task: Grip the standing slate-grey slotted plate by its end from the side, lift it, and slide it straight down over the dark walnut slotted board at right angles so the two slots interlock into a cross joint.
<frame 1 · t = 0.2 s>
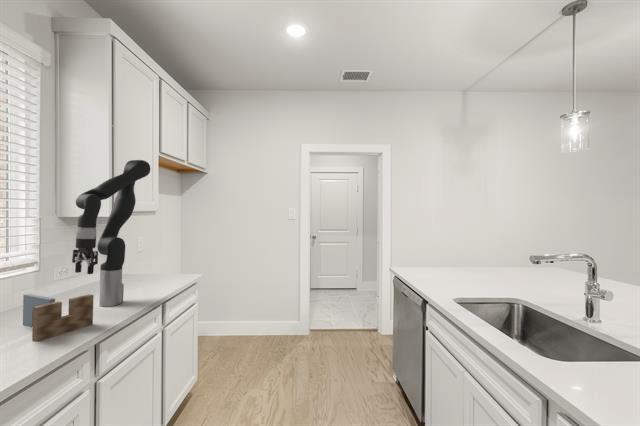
hand: (84, 273, 152), 17 cm above the table, tool pointing down, fingers open, 8 cm apart
walnut board: (64, 331, 127), on the table
slate plate: (38, 327, 131), on the table
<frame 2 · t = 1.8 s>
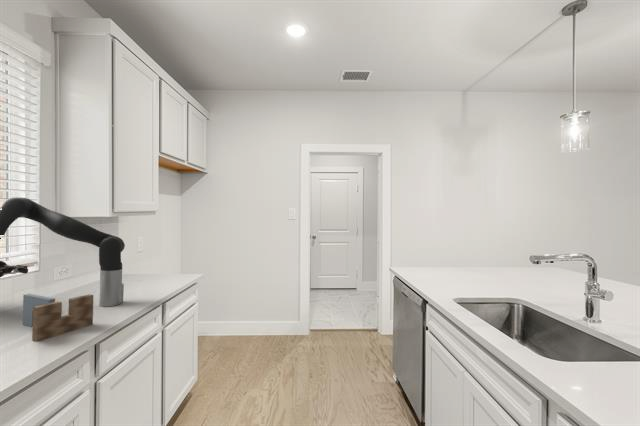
hand: (14, 272, 137), 20 cm above the table, tool horizontal, fingers open, 8 cm apart
nothing on the table moved.
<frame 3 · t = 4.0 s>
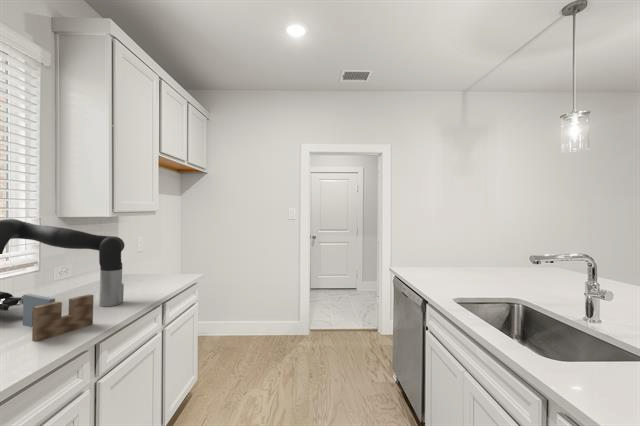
hand: (20, 305, 136), 7 cm above the table, tool horizontal, fingers open, 8 cm apart
nothing on the table moved.
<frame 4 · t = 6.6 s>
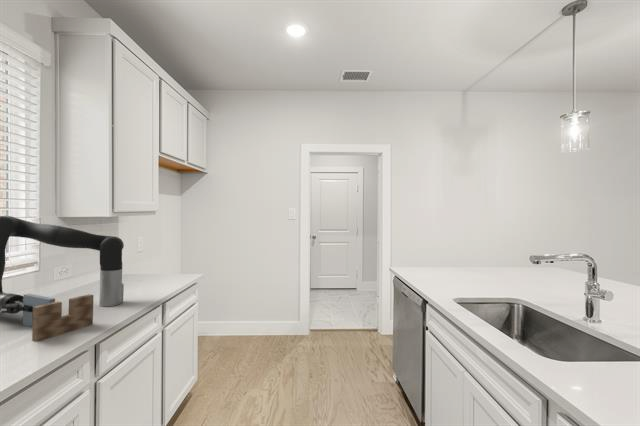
hand: (35, 308, 132), 7 cm above the table, tool horizontal, fingers closed on slate plate, 2 cm apart
slate plate: (38, 327, 131), on the table, touching gripper
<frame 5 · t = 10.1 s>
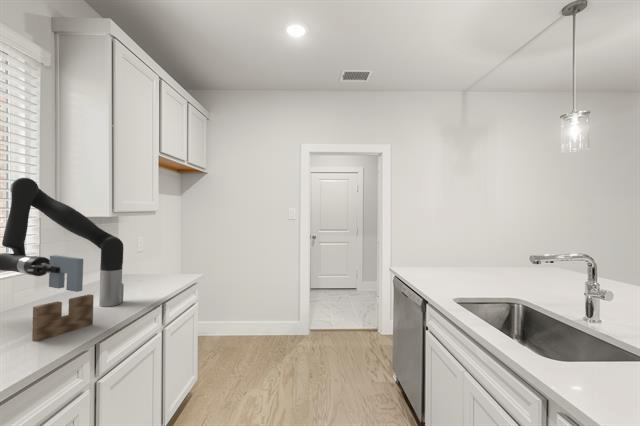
hand: (62, 269, 128), 23 cm above the table, tool horizontal, fingers closed on slate plate
slate plate: (65, 288, 127), point 16 cm above the table, touching gripper
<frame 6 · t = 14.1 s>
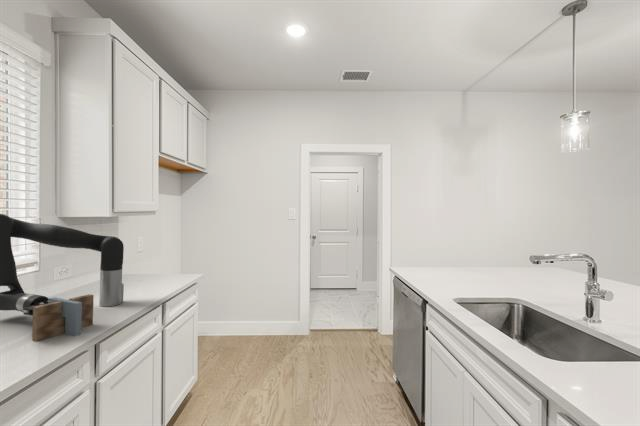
hand: (60, 309, 128), 8 cm above the table, tool horizontal, fingers open, 6 cm apart
slate plate: (64, 331, 128), on the table
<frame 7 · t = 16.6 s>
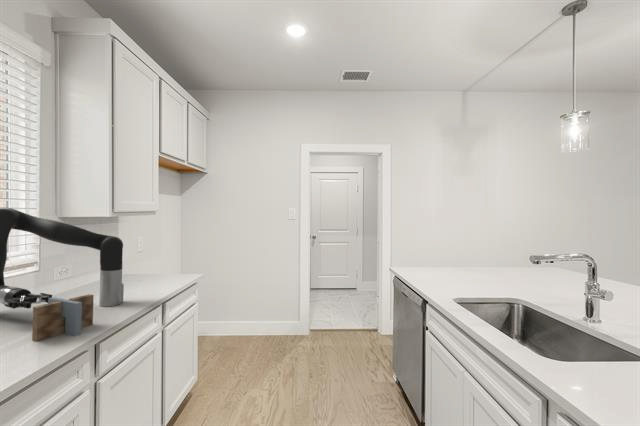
hand: (42, 303, 134), 9 cm above the table, tool horizontal, fingers open, 8 cm apart
nothing on the table moved.
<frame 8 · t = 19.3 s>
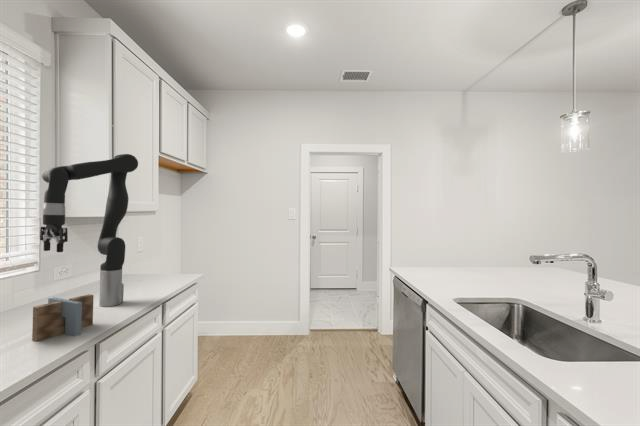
hand: (53, 251, 144), 28 cm above the table, tool pointing down, fingers open, 8 cm apart
nothing on the table moved.
at the end: slate plate 0.3 cm off-centre on the walnut board, point 0.0 cm above the walnut board's base; slate plate tilted 0°; the gripper is holding nothing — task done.
